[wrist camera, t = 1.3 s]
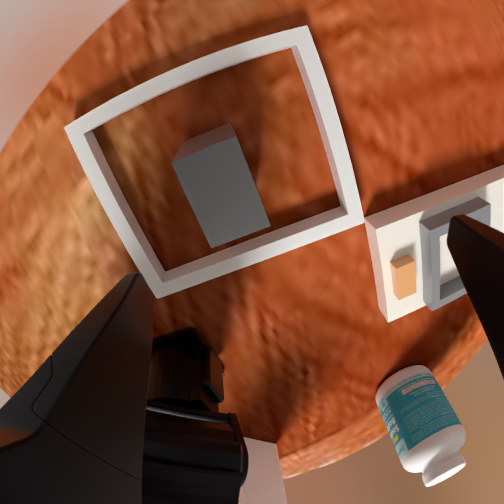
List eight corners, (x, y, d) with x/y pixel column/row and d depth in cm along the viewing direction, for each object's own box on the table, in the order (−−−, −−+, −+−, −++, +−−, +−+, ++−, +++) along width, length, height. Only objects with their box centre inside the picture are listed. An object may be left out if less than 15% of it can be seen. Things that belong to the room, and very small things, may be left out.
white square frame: (159, 286, 23) (157, 299, 22) (73, 124, 17) (63, 127, 16) (356, 213, 22) (364, 222, 21) (300, 29, 16) (307, 25, 14)
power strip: (378, 307, 26) (395, 334, 23) (363, 217, 22) (385, 239, 19) (533, 229, 25) (554, 244, 22) (537, 151, 21) (562, 162, 17)
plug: (211, 204, 21) (211, 248, 15) (183, 141, 18) (170, 162, 13) (255, 188, 20) (270, 226, 15) (230, 122, 18) (236, 135, 13)
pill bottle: (364, 388, 32) (406, 491, 20) (420, 352, 31) (477, 449, 19) (384, 409, 35) (420, 495, 24) (433, 378, 34) (479, 460, 22)
